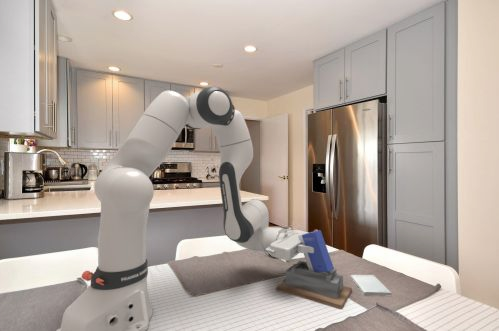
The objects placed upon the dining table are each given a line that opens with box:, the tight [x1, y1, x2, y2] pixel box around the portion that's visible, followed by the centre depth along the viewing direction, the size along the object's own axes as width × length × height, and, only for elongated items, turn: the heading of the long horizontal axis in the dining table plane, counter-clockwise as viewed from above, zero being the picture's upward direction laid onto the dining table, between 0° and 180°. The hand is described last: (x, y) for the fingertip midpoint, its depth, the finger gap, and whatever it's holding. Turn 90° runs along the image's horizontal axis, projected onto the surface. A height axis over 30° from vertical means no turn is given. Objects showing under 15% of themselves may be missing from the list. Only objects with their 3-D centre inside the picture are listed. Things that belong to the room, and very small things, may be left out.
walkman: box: [298, 229, 335, 272], centre depth 81 cm, size 8×3×12 cm, turn 33°
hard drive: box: [350, 274, 393, 296], centre depth 85 cm, size 2×8×12 cm
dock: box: [275, 260, 353, 310], centre depth 82 cm, size 12×20×7 cm, turn 56°
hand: (316, 248), depth 81 cm, fingers closed on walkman, 2 cm apart
